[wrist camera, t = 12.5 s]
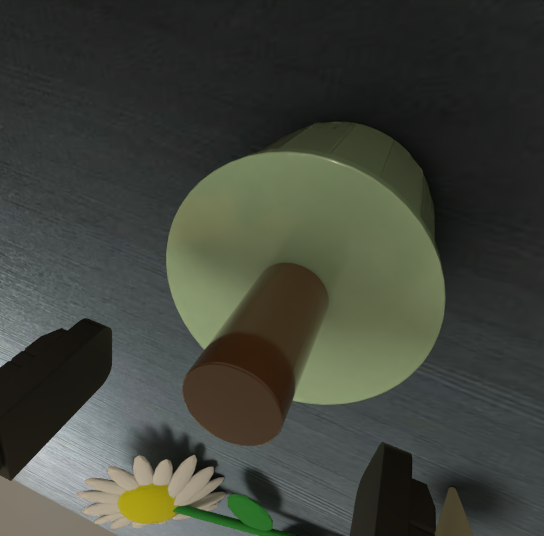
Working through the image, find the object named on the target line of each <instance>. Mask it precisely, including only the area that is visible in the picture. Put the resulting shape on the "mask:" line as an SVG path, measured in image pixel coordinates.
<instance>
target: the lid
mask: <svg viewBox="0 0 544 536" xmlns="http://www.w3.org/2000/svg"><path fill="white" fill-rule="evenodd" d="M166 266H167V275H168V281H169V286H170V290H171V294H172V297H173V299H174V302H175V305H176V307H177V310H178V312H179V314H180V315H181V317H182V319H183V321H184V323H185V325H186V326H187V328H188V329H189V331H190V332H191V334H192V335H193V337H194V338H195V339H196V340H197V342H198V343H199V344H200V346H201V347H202V348H203V349H204V351H203V353H202V354H201V355H200V357H199V358H198V359H197V361H196V362H195V363H194V365H193V366H192V367H191V369H190V370H189V371H188V373H187V374H186V376H185V378H184V381H183V386H182V393H183V398H184V402H185V404H186V407H187V408H188V410H189V412H190V413H191V415H192V416H193V417H194V419H195V420H196V421H197V422H198V423H199V424H200V425H201V426H202V427H203V428H204V429H206V430H207V431H208V432H210V433H211V434H213V435H215V436H216V437H218V438H220V439H222V440H224V441H227V442H229V443H233V444H236V445H241V446H259V445H263V444H266V443H268V442H270V441H271V440H273V439H274V438H275V437H276V436H277V435H278V434H279V433H280V431H281V429H282V426H283V424H284V421H285V419H286V416H287V414H288V411H289V408H290V406H291V403H292V401H297V402H303V403H309V404H324V405H329V404H344V403H351V402H357V401H361V400H364V399H368V398H372V397H374V396H377V395H379V394H381V393H384V392H386V391H388V390H390V389H391V388H393V387H395V386H396V385H398V384H400V383H401V382H402V381H404V380H405V379H406V378H407V377H409V376H410V375H411V374H412V373H413V372H414V371H415V370H416V369H417V368H418V367H419V366H420V365H421V364H422V363H423V362H424V360H425V359H426V357H427V356H428V354H429V353H430V351H431V350H432V348H433V346H434V344H435V342H436V340H437V337H438V335H439V333H440V329H441V326H442V322H443V318H444V311H445V300H446V295H445V281H444V272H443V267H442V263H441V259H440V255H439V252H438V250H437V247H436V245H435V242H434V240H433V237H432V235H431V234H430V232H429V230H428V229H427V227H426V225H425V223H424V222H423V220H422V218H421V217H420V216H419V215H418V213H417V212H416V211H415V210H414V208H413V207H412V206H411V205H410V203H409V202H408V201H407V200H406V199H405V198H404V197H403V196H402V195H401V194H400V193H399V192H397V191H396V190H395V189H394V188H393V187H392V186H391V185H389V184H388V183H387V182H385V181H384V180H382V179H381V178H380V177H378V176H377V175H376V174H374V173H372V172H370V171H369V170H367V169H365V168H363V167H361V166H359V165H357V164H356V163H353V162H351V161H348V160H345V159H343V158H340V157H337V156H335V155H331V154H327V153H322V152H318V151H314V150H304V149H293V148H290V149H271V150H266V151H261V152H255V153H251V154H249V155H246V156H243V157H240V158H237V159H235V160H233V161H231V162H229V163H227V164H225V165H223V166H221V167H220V168H218V169H216V170H214V171H213V172H212V173H210V174H209V175H208V176H206V177H205V178H204V179H202V180H201V181H200V182H199V183H198V184H197V185H196V186H195V187H194V188H193V189H192V190H191V191H190V192H189V194H188V195H187V197H186V198H185V200H184V201H183V202H182V204H181V205H180V207H179V209H178V211H177V213H176V215H175V218H174V220H173V223H172V226H171V229H170V233H169V237H168V243H167V251H166Z"/></svg>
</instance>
